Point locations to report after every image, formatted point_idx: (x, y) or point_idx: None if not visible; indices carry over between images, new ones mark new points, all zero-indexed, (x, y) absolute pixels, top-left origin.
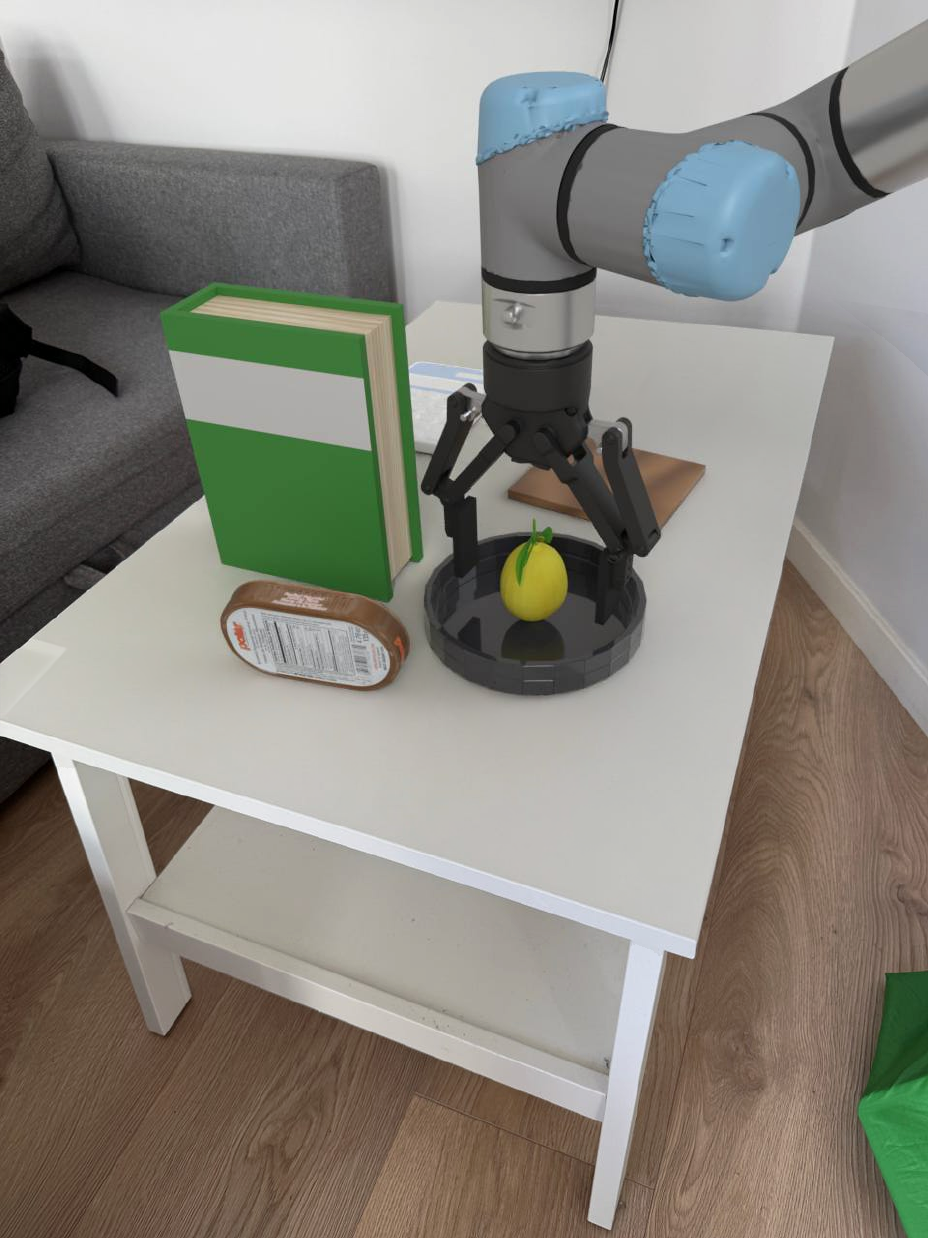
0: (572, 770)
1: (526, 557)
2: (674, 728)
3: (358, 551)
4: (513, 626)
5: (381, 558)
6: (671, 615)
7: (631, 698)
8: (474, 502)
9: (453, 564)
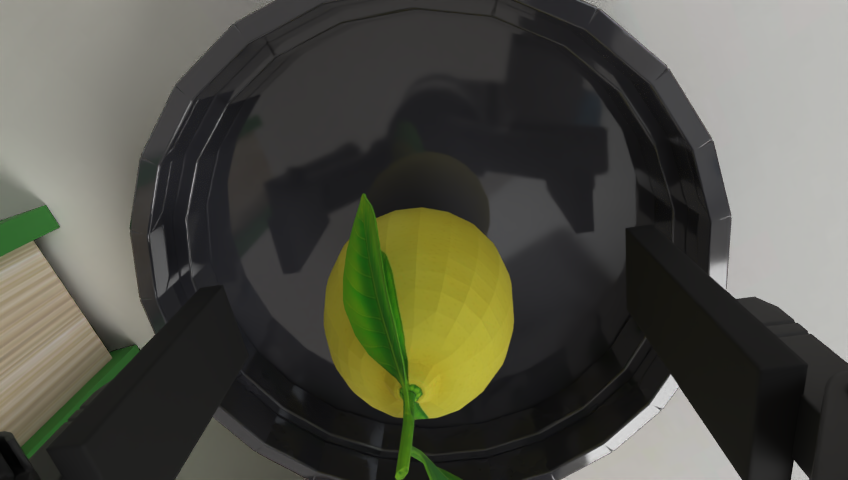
0: (690, 476)
1: (418, 414)
2: (822, 327)
3: None
4: None
5: None
6: (701, 3)
7: None
8: (98, 444)
9: (169, 293)
